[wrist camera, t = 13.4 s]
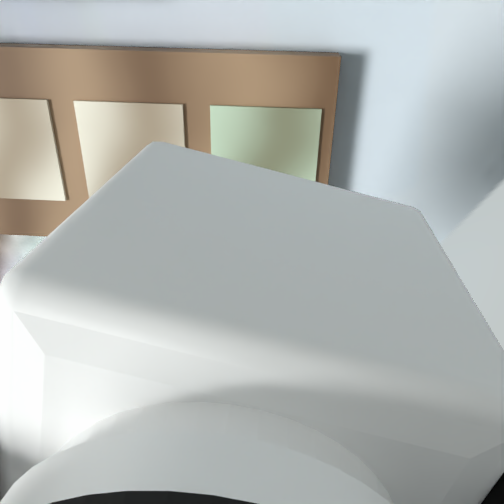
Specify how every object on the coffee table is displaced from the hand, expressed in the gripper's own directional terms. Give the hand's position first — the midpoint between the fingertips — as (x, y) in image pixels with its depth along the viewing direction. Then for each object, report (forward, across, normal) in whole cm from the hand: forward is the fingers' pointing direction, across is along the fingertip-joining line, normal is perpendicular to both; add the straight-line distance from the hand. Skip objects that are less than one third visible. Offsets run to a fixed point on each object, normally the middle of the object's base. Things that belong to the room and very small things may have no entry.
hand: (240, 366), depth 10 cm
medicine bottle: (+4, 0, 0) cm, 4 cm away
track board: (+15, +6, 0) cm, 16 cm away
